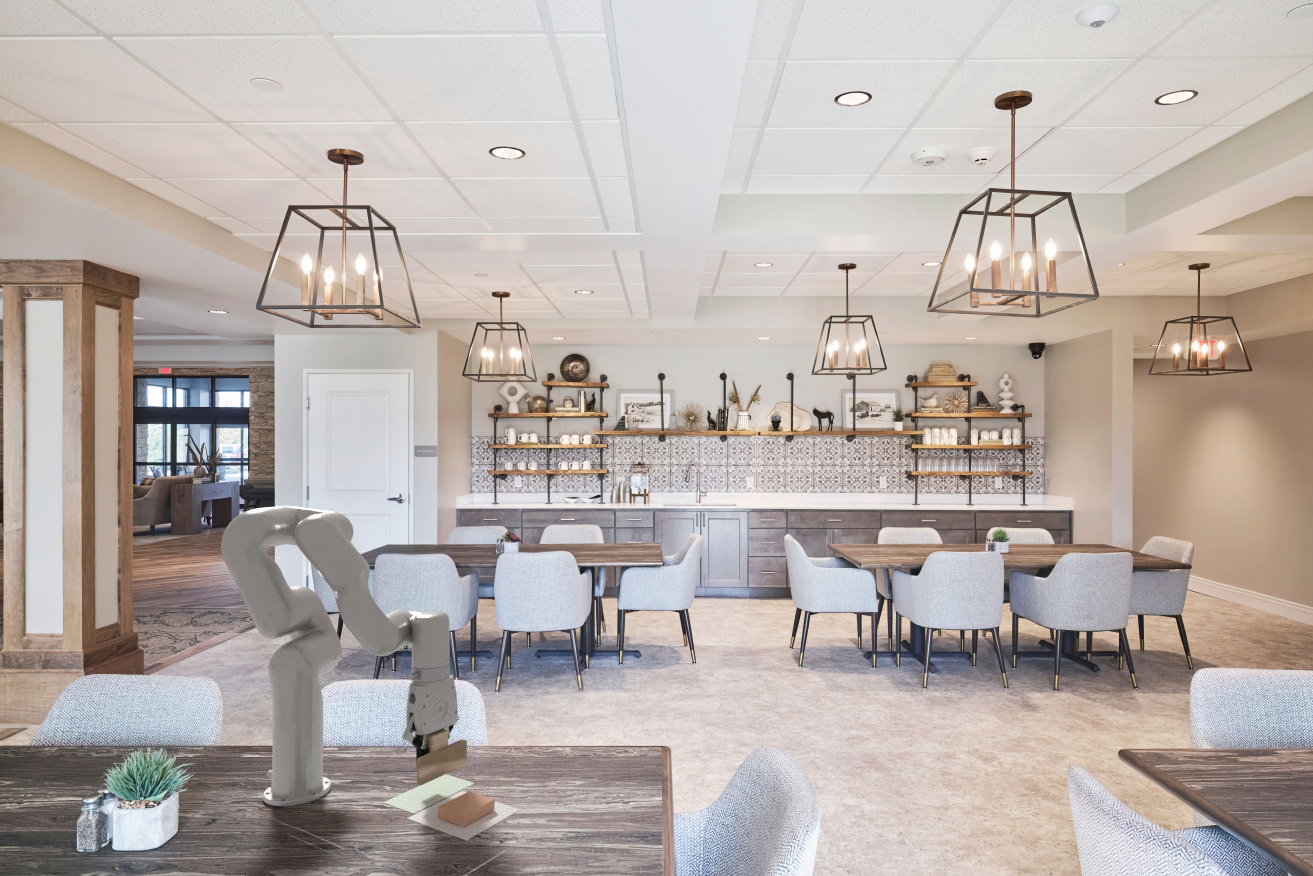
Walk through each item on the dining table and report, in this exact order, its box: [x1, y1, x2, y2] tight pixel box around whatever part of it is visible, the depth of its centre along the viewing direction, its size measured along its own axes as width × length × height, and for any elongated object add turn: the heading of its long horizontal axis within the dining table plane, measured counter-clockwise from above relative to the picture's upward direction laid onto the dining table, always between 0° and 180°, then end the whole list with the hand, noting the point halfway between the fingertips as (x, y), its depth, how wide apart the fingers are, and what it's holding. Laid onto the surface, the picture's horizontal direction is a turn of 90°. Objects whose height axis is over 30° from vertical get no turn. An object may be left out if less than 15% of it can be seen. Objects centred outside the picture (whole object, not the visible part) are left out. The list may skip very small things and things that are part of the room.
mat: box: [406, 790, 521, 841], centre depth 145 cm, size 16×14×1 cm
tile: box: [438, 791, 496, 827], centre depth 145 cm, size 2×8×7 cm
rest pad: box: [383, 773, 475, 815], centre depth 154 cm, size 9×16×1 cm, turn 148°
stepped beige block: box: [415, 729, 468, 786], centre depth 154 cm, size 6×12×8 cm, turn 148°
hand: (432, 761), depth 155 cm, fingers closed on stepped beige block, 4 cm apart
